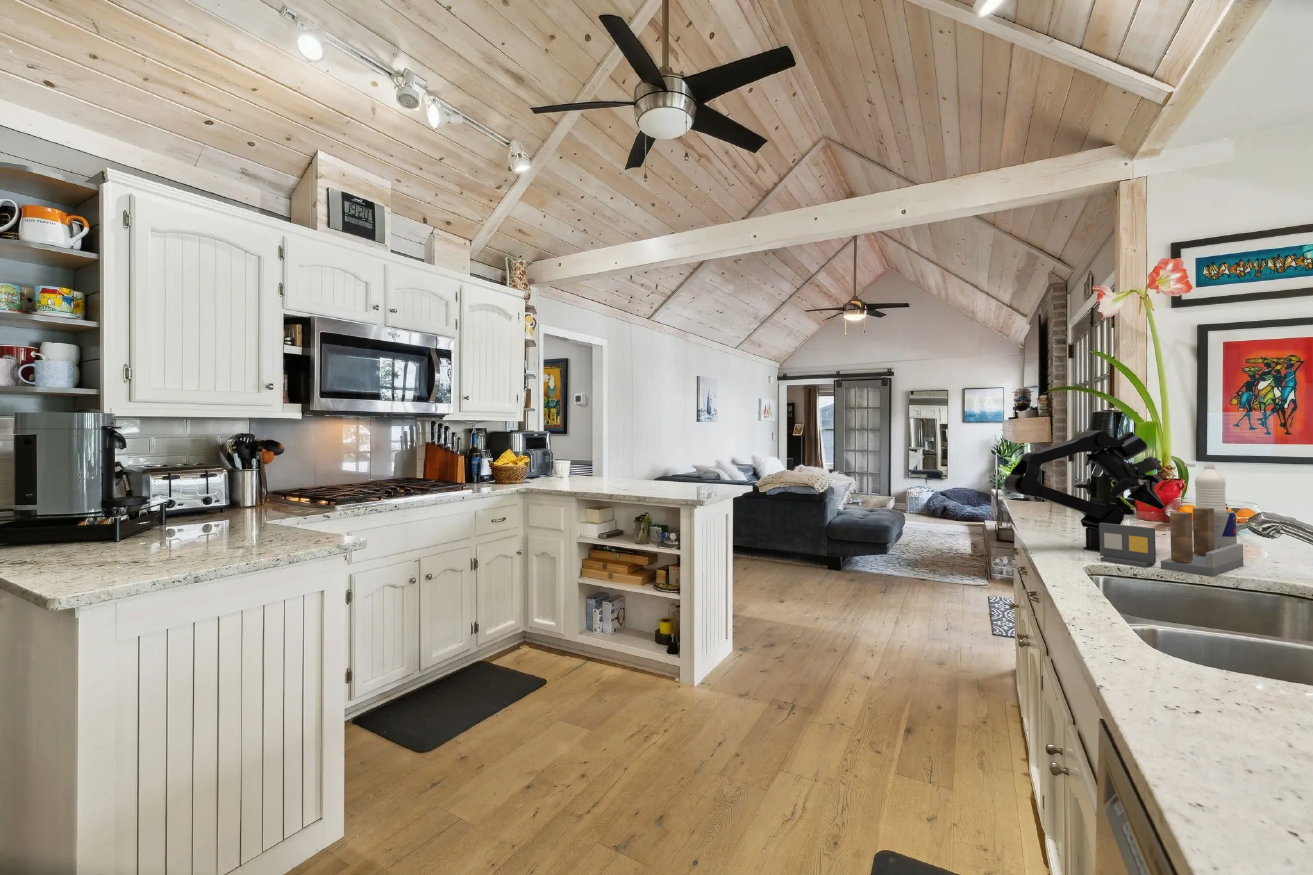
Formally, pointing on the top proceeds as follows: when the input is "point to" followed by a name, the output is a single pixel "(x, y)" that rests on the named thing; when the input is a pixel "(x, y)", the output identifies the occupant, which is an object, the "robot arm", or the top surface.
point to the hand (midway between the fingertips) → (1163, 508)
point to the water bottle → (1209, 488)
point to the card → (1127, 545)
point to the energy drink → (1224, 529)
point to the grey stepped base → (1209, 561)
